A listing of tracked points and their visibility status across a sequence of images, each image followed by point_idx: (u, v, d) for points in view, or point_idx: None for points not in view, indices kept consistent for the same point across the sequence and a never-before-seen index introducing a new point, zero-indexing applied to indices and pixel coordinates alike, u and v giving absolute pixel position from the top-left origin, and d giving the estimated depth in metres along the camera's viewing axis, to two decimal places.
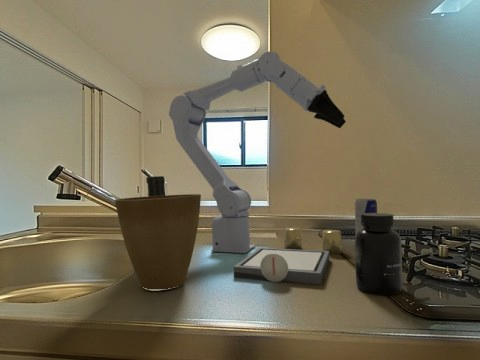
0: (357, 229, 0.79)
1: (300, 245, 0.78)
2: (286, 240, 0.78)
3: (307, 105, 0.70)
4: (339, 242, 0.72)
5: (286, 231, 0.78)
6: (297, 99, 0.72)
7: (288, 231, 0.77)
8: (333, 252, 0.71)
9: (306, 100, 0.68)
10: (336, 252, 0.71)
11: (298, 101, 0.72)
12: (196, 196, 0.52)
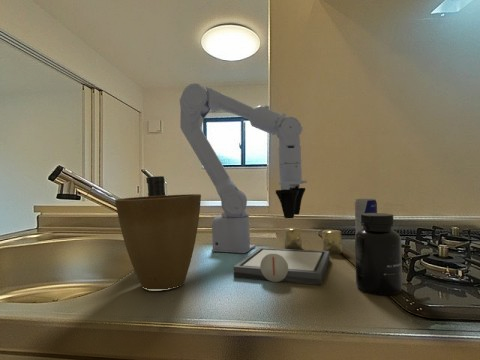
0: (357, 229, 0.79)
1: (300, 245, 0.78)
2: (286, 240, 0.78)
3: None
4: (339, 242, 0.72)
5: (286, 231, 0.78)
6: (280, 173, 0.78)
7: (288, 231, 0.77)
8: (333, 252, 0.71)
9: None
10: (336, 252, 0.71)
11: (280, 174, 0.79)
12: (196, 196, 0.52)
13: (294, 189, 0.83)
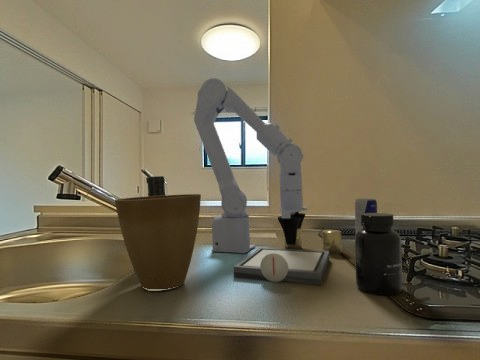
0: (357, 229, 0.79)
1: (300, 245, 0.78)
2: None
3: None
4: (339, 242, 0.72)
5: None
6: (281, 199, 0.78)
7: None
8: (333, 252, 0.71)
9: None
10: (336, 252, 0.71)
11: (281, 201, 0.79)
12: (196, 196, 0.52)
13: (294, 215, 0.81)
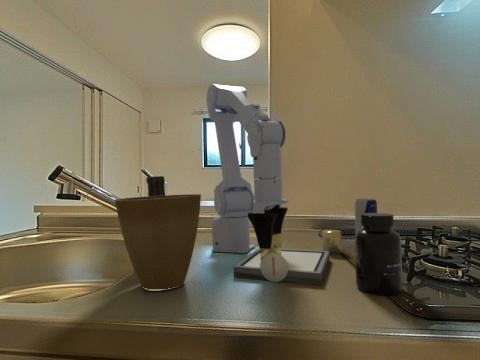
0: (357, 229, 0.79)
1: None
2: None
3: None
4: (339, 242, 0.72)
5: None
6: (255, 190, 0.62)
7: None
8: (333, 252, 0.71)
9: None
10: (336, 252, 0.71)
11: (254, 192, 0.62)
12: (196, 196, 0.52)
13: (273, 209, 0.66)
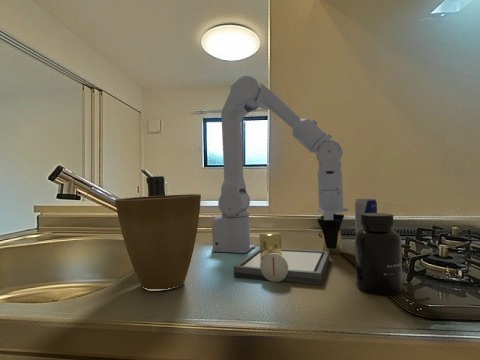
0: (357, 229, 0.79)
1: None
2: (262, 248, 0.62)
3: None
4: (339, 242, 0.72)
5: (262, 237, 0.61)
6: (320, 200, 0.73)
7: (264, 237, 0.61)
8: (333, 252, 0.71)
9: (322, 212, 0.69)
10: (336, 252, 0.71)
11: (319, 201, 0.73)
12: (196, 196, 0.52)
13: (332, 216, 0.76)
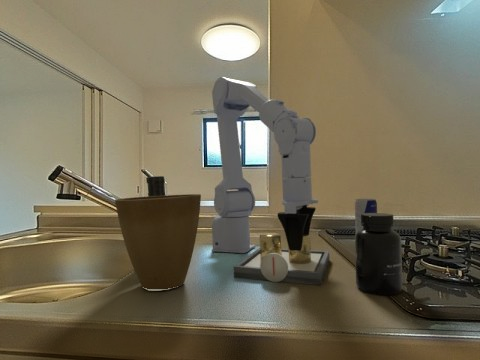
0: (357, 229, 0.79)
1: None
2: (262, 249, 0.62)
3: None
4: (307, 249, 0.59)
5: (262, 238, 0.61)
6: (284, 189, 0.60)
7: (264, 237, 0.61)
8: (299, 261, 0.58)
9: None
10: (303, 261, 0.58)
11: (283, 191, 0.60)
12: (196, 196, 0.52)
13: (301, 209, 0.64)
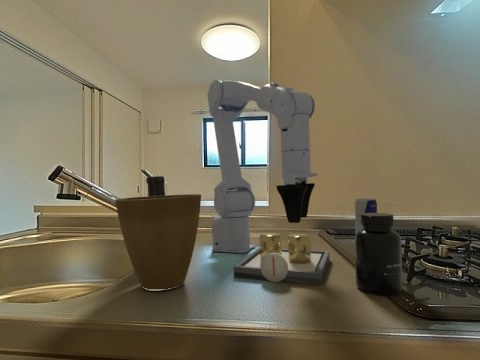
0: (357, 229, 0.79)
1: None
2: (262, 249, 0.62)
3: None
4: (307, 249, 0.59)
5: (262, 238, 0.61)
6: (283, 163, 0.60)
7: (264, 237, 0.61)
8: (299, 261, 0.58)
9: None
10: (303, 261, 0.58)
11: (282, 165, 0.60)
12: (196, 196, 0.52)
13: (300, 185, 0.64)
